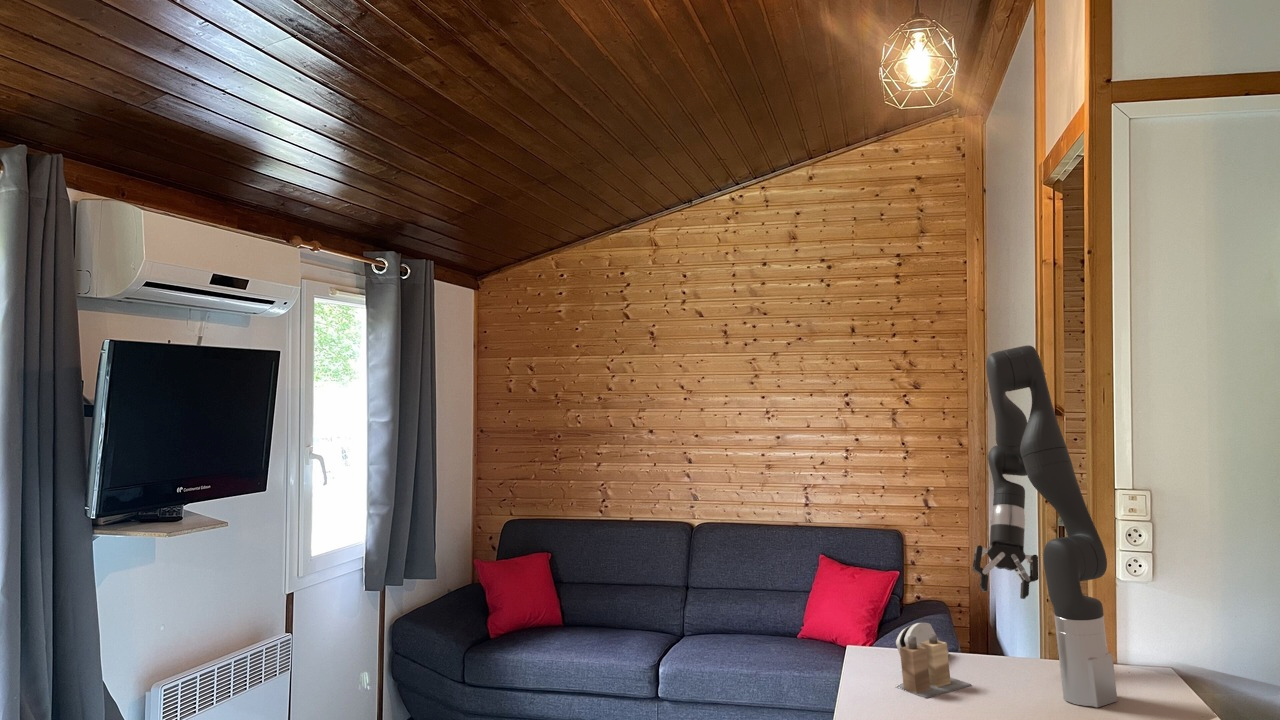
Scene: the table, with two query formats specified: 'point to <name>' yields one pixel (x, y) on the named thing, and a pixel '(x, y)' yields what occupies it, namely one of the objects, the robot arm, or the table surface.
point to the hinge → (915, 634)
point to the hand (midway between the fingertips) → (1003, 595)
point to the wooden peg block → (937, 661)
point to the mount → (921, 672)
